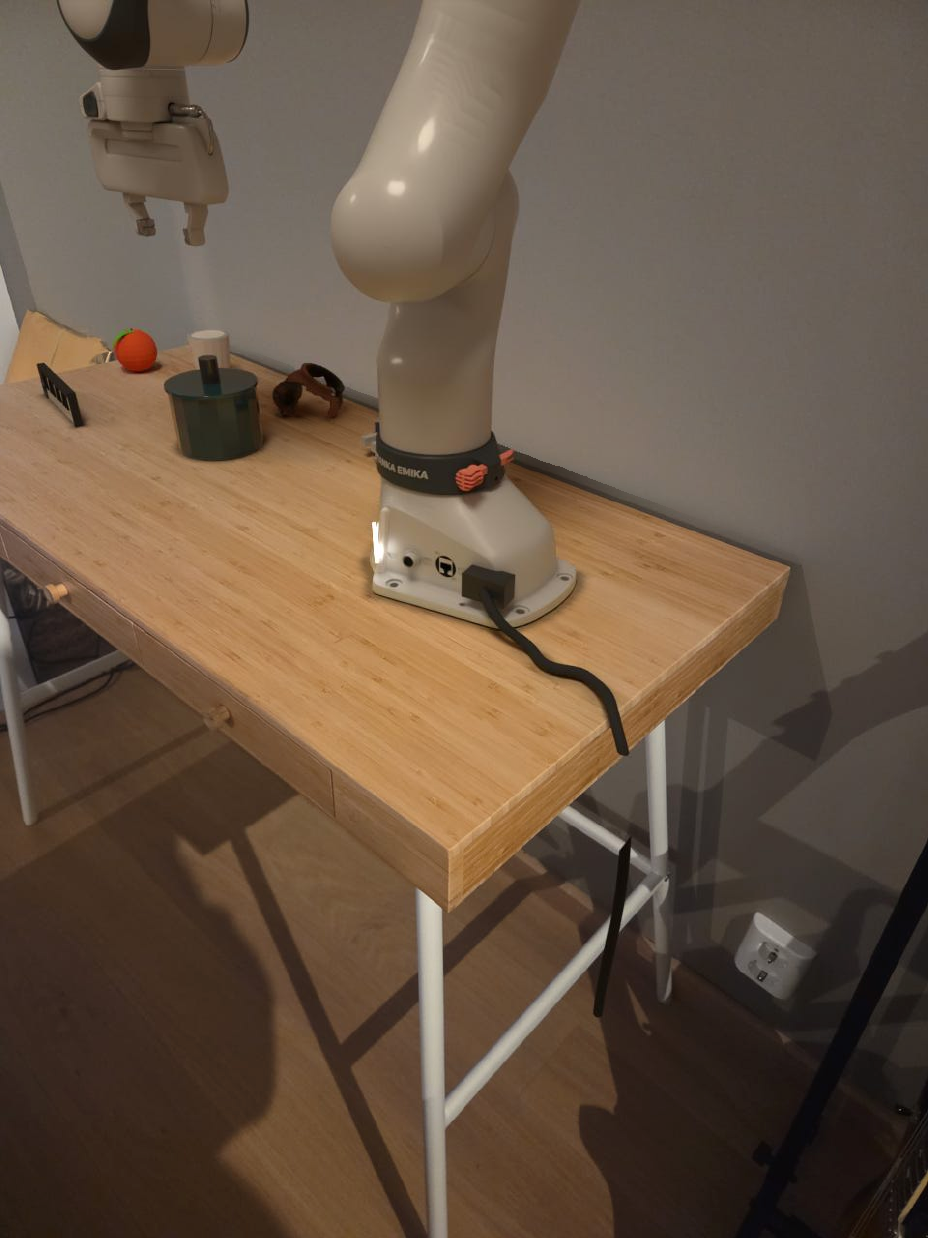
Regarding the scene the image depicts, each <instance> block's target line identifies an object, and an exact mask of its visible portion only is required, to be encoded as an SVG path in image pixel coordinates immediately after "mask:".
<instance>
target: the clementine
mask: <svg viewBox="0 0 928 1238" xmlns="http://www.w3.org/2000/svg"><path fill="white" fill-rule="evenodd" d="M112 350H113V352H114V357H115V359H116V360H117V362H118V363H119V364H120V365H121V366H122V367H124V368H125V369H127V370H129V371H132V372H143V371H146V370H148V369H150V368H151V367H152V366H154V364H155V362H156V361H157V358H158V348H157V345H156V342H155V340H154V339H153V338H152V336H150V334H148V333H147V332H145V331H143V330H141V329H137V328H130V329H125V330H123V331H120V333H118V334H117V335H116V336H115V338H114V340H113V343H112Z"/></svg>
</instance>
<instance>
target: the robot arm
mask: <svg viewBox="0 0 928 1238" xmlns="http://www.w3.org/2000/svg"><path fill="white" fill-rule="evenodd" d="M580 3H581V0H422V2H421V6H420V9H419V14H418V17H417V22H416V24H415V28H414V31H413V34H412V38H411V39H410V42H409V46H408V49H407V51H406V54H405V56H404V59H403V61H402V64H401V67H400V69H399V72H398V74H397V77H396V78H395V81H394V83H393V85H392V87H391V90H390V92H389V94H388V97H387V99H386V101H385V103H384V105H383V108H382V110H381V112H380V115H379V117H378V119H377V121H376V124H375V127H374V129H373V131H372V134H371V136H370V139H369V141H368V143H367V146H366V148H365V150H364V153H363V155H362V157H361V159H360V162H359V164H358V165H357V167H356V169H355V171H354V172H353V173H352V175H351V176H350V178H349V179H348V181H347V182H346V183H345V184H344V186H343V188H342V189H341V190H340V192H339V193H338V195H337V198H336V200H335V201H334V204H333V207H332V210H331V215H330V223H329V235H330V243H331V244H330V245H331V248H332V253H333V255H334V259H335V261H336V263H337V265H338V267H339V269H340V271H341V272H342V274H343V275H344V277H345V278H346V279H347V281H348V282H349V283H350V284H351V285H352V286H353V287H354V288H355V289H357V291H359V292H360V293H362V294H363V295H365V296H367V297H368V298H370V299H373V300H374V301H375V300H376V301H378V302H382V303H387V304H389V310H388V313H387V320H386V322H385V327H384V331H383V335H382V337H381V339H380V342H379V345H378V348H377V353H376V379H377V381H376V382H377V397H378V398H377V402H378V405H377V406H378V422H379V427H380V430H379V431H378V433H377V435H376V450H375V453H374V455H375V456H374V457H375V462H376V471H377V473H378V475H380V488H379V489H380V490H379V501H378V504H379V505H378V514H377V522H376V521H375V522H374V521H373V522H372V532H373V533H372V534H373V545H372V549H371V552H370V555H369V564H370V567H371V569H372V571H373V573H374V574H373V576H372V585H371V586H372V587H371V589H372V592H373V593H375V594H377V595H379V596H382V597H387V598H390V599H392V600H396V601H400V602H404V603H407V604H410V605H413V606H417V607H420V608H424V609H427V610H431V611H434V612H438V613H441V614H445V615H447V616H451V617H455V618H458V619H461V620H464V621H468V622H471V623H475V624H478V625H482V626H485V627H489V628H493V629H497V630H500V631H501V632H502V633H503V634H504V635H505V636H506V637H508V638H509V639H510V640H511V641H513V642H514V643H515V644H517V645H518V646H519V647H520V648H521V649H522V650H524V651H525V652H526V653H527V654H528V655H529V657H530V658H531V659H532V660H533V662H534V663H535V664H536V665H537V666H538V667H540V668H541V669H543V670H545V671H547V672H549V673H551V674H555V675H560V676H565V677H571V678H575V679H579V680H581V681H583V682H584V683H585V684H586V685H588V686H589V687H590V688H592V689H593V690H594V691H595V692H596V694H598V696H599V697H600V698H601V701H602V702H603V704H604V707H605V711H606V714H607V719H608V723H609V727H610V731H611V734H612V738H613V741H614V745H615V750H616V753H617V754H618V755H620V756H621V757H628V756H629V755H630V749H629V748H630V747H629V745H628V741H627V738H626V733H625V729H624V727H623V722H622V719H621V714H620V711H619V706H618V704H617V701H616V698H615V695H614V694H613V692H612V691H611V689H610V688H609V686H608V685H607V684H606V683H605V682H603V680H601V679H600V678H599V677H598V676H596V675H595V674H593V673H592V672H591V671H589V670H587V669H585V668H582V667H579V666H576V665H571V664H565V663H559V662H556V661H553V660H550V659H548V658H547V657H546V656H545V655H544V654H543V653H542V651H541V650H540V649H539V648H538V647H537V646H536V644H535V643H533V642H532V641H531V640H530V639H529V638H528V637H526V636H525V635H524V634H522V633H521V632H520V631H519V630H518V629H516V627H520V626H523V625H527V624H529V623H531V622H533V621H536V620H538V619H540V618H542V617H543V616H545V615H546V614H548V613H549V612H551V611H552V610H554V609H555V608H556V607H558V606H559V605H560V604H561V603H563V602H564V601H565V600H566V599H567V598H568V597H569V596H570V595H571V593H572V592H573V591H574V588H575V586H576V584H577V567H576V566H575V565H573V564H572V563H570V562H569V561H567V560H564V559H563V558H560V556H557V543H556V536H555V531H554V528H553V526H552V524H551V522H550V520H549V519H548V518H547V517H546V516H544V515H543V514H542V512H540V511H539V510H538V508H537V507H536V506H535V505H534V504H533V503H532V502H531V500H529V499H528V497H527V496H525V494H524V493H523V492H522V491H521V490H520V489H519V487H517V486H516V485H515V483H513V481H512V480H511V479H510V478H509V477H508V476H507V475H506V467H505V465H506V464H509V463H510V462H511V461H513V460H514V457H511V456H512V455H513V453H514V452H515V449H514V448H511V449H508V450H506V451H505V452H503V453H501V451H500V448H499V444H498V441H497V437H496V436H495V433H494V432H493V429H492V426H493V423H492V422H493V420H492V419H493V397H494V395H493V393H494V373H495V371H494V368H495V356H496V347H497V339H498V334H499V328H500V322H501V317H502V312H503V306H504V300H505V294H506V289H507V288H506V287H507V282H508V275H509V267H510V260H511V252H512V245H513V238H514V233H515V232H516V231H515V230H516V228H517V227H516V226H517V223H518V220H519V213H520V196H519V195H520V194H519V190H518V185H517V183H516V180H515V178H514V176H513V174H512V173H511V171H510V170H509V168H510V166H512V163H513V161H514V159H515V156H516V154H517V152H518V150H519V148H520V146H521V144H522V142H523V140H524V138H525V136H526V134H527V133H528V130H529V128H530V126H531V124H532V122H533V120H534V119H535V116H536V115H537V113H538V112H539V110H540V109H541V108H542V106H543V104H544V103H545V101H546V98H547V96H548V93H549V91H550V88H551V85H552V81H553V79H554V76H555V73H556V71H557V68H558V65H559V63H560V60H561V57H562V55H563V51H564V49H565V45H566V43H567V40H568V37H569V35H570V33H571V32H570V31H571V29H572V27H573V24H574V21H575V18H576V16H577V12H578V9H579V6H580ZM56 4H57V8H58V12H59V15H60V16H61V19H62V21H63V23H64V25H65V26H66V28H67V30H68V32H69V33H70V35H71V36H72V37H73V39H74V40H75V42H76V43H77V44H78V45H79V46H80V48H81V49H83V51H85V53H87V55H89V57H91V59H92V60H94V61H95V62H96V65H97V66H96V67H97V72H98V76H99V77H98V78H99V80H98V81H97V82H95V83H94V84H93V86H91V87H90V88H89V89H88V90H86V91H85V92H83V93H82V94H81V95H80V97H79V98H78V103H79V109H80V113H81V115H82V117H83V118H84V119H86V120H89V121H88V123H87V128H86V129H87V138H88V144H89V148H90V154H91V157H92V161H93V166H94V171H95V173H96V176H97V179H98V181H99V182H100V185H101V186H102V187H103V189H104V190H105V191H108V192H116V193H121V194H122V199H123V203H124V205H125V207H126V209H127V211H128V213H129V214H130V217H131V218H132V220H133V223H134V228H135V233H136V235H137V236H141V237H154V236H156V234H157V230H156V228H155V227H156V224H155V219H154V218H150V215H149V213H148V209H147V207H146V205H145V203H146V202H147V198H146V197H148V198H155V199H160V200H166V201H167V200H168V201H174V202H180V203H183V208H184V213H186V214H188V216H187V223H186V227H184V228H183V227H182V234H183V236H184V239H183V240H184V243H185V245H187V246H190V247H191V246H192V247H202V246H204V245H205V243H206V237H205V232H204V231H205V226H206V222H207V218H208V214H209V208H208V206H211V205H218V204H224V203H226V202H227V200H228V196H229V193H230V188H229V182H228V181H229V180H228V176H227V170H226V165H225V161H224V157H223V151H222V148H221V145H220V141H219V138H218V135H217V132H215V130H214V125H213V121H212V120H211V118H209V116H208V114H207V113H206V111H204V109H203V107H202V106H200V105H198V104H191V102H190V96H189V90H188V82H187V75H186V70H185V69H186V68H187V67H188V68H189V67H216V66H221V65H223V64H226V63H227V64H228V63H231V62H233V61H235V60H236V59H237V58H238V57H239V55H240V54H241V52H242V51H243V49H244V47H245V44H246V43H247V38H248V36H249V29H250V10H249V9H250V7H249V2H248V0H56ZM376 523H377V524H376ZM632 837H633V835H630V836H629V837H628V838H627V840H626V841H625V843H624V844H622V846H621V847H620V849H619V850H618V858H617V868H616V869H617V870H616V878H615V886H614V894H613V900H612V907H611V913H610V918H609V923H608V928H607V934H606V939H605V943H604V948H603V953H602V958H601V962H600V968H599V972H598V976H597V978H598V979H597V983H596V988H595V995H594V1002H593V1008H592V1015H593V1016H594V1017H595V1018H598V1019H599V1018H602V1016H603V1015H604V1009H605V1003H606V997H607V992H608V986H609V981H610V976H611V971H612V967H613V961H614V957H615V953H616V948H617V944H618V940H619V939H618V938H619V935H620V934H619V933H620V930H621V924H622V920H623V915H624V910H625V904H626V897H627V890H628V884H629V876H630V865H631V854H632Z"/></svg>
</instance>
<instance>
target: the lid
mask: <svg viewBox="0 0 928 1238" xmlns="http://www.w3.org/2000/svg"><path fill="white" fill-rule="evenodd" d="M198 361H199V367H200V369H198V370H195V369H194V370H188V371H184V372H181V373H177V374H174V375H173V376H171V377H169V378H168V379H166V380H165V381H164V383H163V389H164V391H165V393H166V394H167V395H168V394H169V395H171V396H174V397H177V398H182V399H189V400H215V399H224V398H230V397H234V396H238V395H241V394H244V393H247V392H249V391H251V390H253V389H254V388H255V387H256V386H257V387H258V385H259V379H258V376H257V375H256V374H254V373H253V372H251V371H249V370H245V369H241V368H233V367H231V368H218V362H217V357H216V356H214V355H203V356H200V357H198ZM169 395H168V396H169Z"/></svg>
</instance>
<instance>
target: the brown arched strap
mask: <svg viewBox="0 0 928 1238" xmlns="http://www.w3.org/2000/svg"><path fill="white" fill-rule="evenodd" d="M316 378H317V379H318V378H323V379H324V381H325V384H324V383H322V382H321V381H319V380H317V379H316ZM304 387H305V391H306V392H309V393H311V394H312V395H314V396H316V397H320V398H321V399H322V400H324V401H327V402H329V408H328V410H327V417H328V418H331V419H334V418H335V417H336V415H337V414H338V412H339V410H341V409H342V407H343V404H344V397H343V393H344V392H345V389H346V387H345V384H344V383H343V381H342V380H341V378H340V377H338V375H336V374H335V373H333V371H331V370H329V369H328V368H326V367H324V366H321V365H319V364H317V363H313V362H303V363H302V364H301V366H300V368H299V369H296V370H294V371H292V372H290V373H289V374H288V375H287V377H285V380H283V381H281V382H279V383H278V384H277V385H275V387H274V388H273V390H272V393H271V398H272V401H273V403H274V405H275V407H277V412H278V414H279V415H280V416H281V417H283V416H284V415H285V416H292V417H293V416H295V415H296V408H297V405H298V403H299V401H300V399H301V397H302V396H303V390H304ZM333 393H334V394H333Z"/></svg>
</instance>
